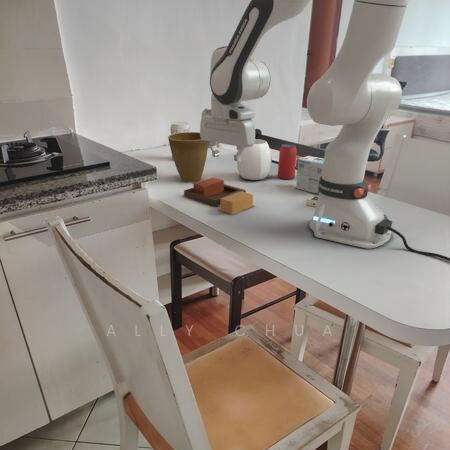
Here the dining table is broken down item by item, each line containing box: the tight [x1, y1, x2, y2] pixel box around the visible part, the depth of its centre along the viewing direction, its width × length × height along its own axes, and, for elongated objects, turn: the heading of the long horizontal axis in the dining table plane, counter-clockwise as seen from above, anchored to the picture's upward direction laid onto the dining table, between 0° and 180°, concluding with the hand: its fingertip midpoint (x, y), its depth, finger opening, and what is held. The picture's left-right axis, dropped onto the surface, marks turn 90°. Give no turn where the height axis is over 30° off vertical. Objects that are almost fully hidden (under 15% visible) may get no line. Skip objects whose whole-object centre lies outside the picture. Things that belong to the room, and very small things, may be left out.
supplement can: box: [169, 121, 191, 159], centre depth 181 cm, size 8×8×15 cm
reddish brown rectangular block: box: [192, 177, 225, 196], centre depth 142 cm, size 5×10×4 cm, turn 137°
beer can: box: [277, 143, 298, 180], centre depth 158 cm, size 7×7×12 cm
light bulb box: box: [295, 155, 324, 195], centre depth 145 cm, size 11×7×11 cm, turn 47°
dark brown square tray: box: [183, 183, 247, 208], centre depth 141 cm, size 15×15×2 cm
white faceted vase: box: [236, 138, 273, 181], centre depth 157 cm, size 13×13×14 cm
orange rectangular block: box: [220, 191, 254, 215], centre depth 130 cm, size 5×10×4 cm, turn 137°
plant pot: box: [167, 131, 209, 183], centre depth 154 cm, size 15×15×16 cm
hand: (226, 158), depth 129 cm, fingers open, 8 cm apart
